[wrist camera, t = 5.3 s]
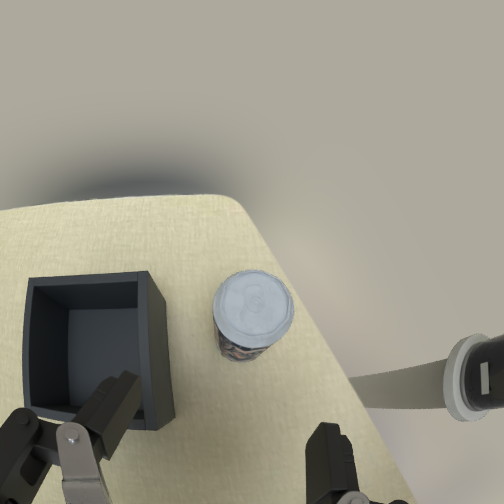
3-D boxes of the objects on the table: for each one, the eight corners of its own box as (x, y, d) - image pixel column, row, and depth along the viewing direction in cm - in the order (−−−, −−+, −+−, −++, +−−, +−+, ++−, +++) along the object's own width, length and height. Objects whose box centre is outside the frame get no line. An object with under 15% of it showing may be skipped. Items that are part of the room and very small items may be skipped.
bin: (166, 301, 27) (148, 270, 20) (175, 418, 22) (157, 430, 15) (67, 304, 25) (28, 277, 18) (68, 411, 20) (24, 413, 13)
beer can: (219, 366, 24) (218, 350, 14) (212, 317, 27) (207, 267, 16) (269, 358, 25) (306, 337, 15) (261, 311, 27) (288, 259, 17)
